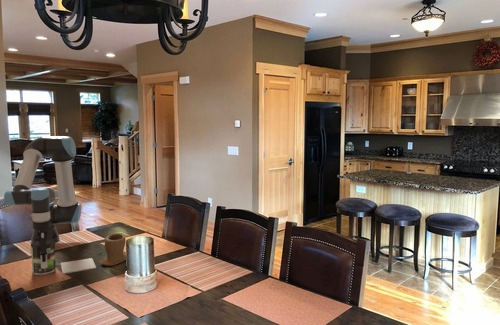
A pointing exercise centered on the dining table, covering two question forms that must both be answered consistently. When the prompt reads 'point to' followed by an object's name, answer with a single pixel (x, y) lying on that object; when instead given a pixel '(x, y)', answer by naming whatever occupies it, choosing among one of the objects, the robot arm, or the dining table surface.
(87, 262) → the grey mat
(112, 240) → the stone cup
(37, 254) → the coffee can
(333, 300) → the dining table surface
